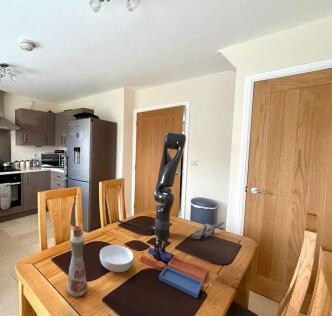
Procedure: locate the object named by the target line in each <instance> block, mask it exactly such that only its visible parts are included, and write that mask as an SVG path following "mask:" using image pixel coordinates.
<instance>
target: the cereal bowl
mask: <svg viewBox="0 0 332 316" xmlns="http://www.w3.org/2000/svg"><path fill="white" fill-rule="evenodd" d="M134 257H135V256H134V253H133V252H132V250H130V249H129V248H127V247H125V246H123V245H117V244H110V245H105V246H104V247H102V248H101V249H100V250H99V261H100V263H101V265H102V267H104V268H105V269H106V270H107V271H110V272H112V273H124V272H126V271H128V270H129V269H130V268H131V267H132V266H133V263H134Z"/></svg>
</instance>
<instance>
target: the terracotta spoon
mask: <svg viewBox="0 0 332 316" xmlns="http://www.w3.org/2000/svg"><path fill="white" fill-rule="evenodd" d="M140 262H142V263H144V264H147V265H149V266H151V267H153V268H154V269H155V270H157V271H158V272H162V271H163V270H164V268H165V267H166V264H165V263H164V262H163V261H162V260H161V261H160V260H156V259H154V258H152V257H150V256H147V255H145V254H141V255H140Z"/></svg>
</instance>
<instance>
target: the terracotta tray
mask: <svg viewBox="0 0 332 316" xmlns="http://www.w3.org/2000/svg"><path fill="white" fill-rule="evenodd" d="M167 267H169V268H171V269H173V270H176V271H178V272H180V273H183V274H185V275H187V276H190V277H192V278H194V279H197V280H199V281H201V282H202V283H204V282H205V280H206V277H207V275H208V270H209V269H208V268H206V267H204V266H201V265H198V264H196V263H193V262H190V261H188V260H185V259H183V258H180V257H178V256H175V255H173V257H172V259H171V260H170V262H167Z"/></svg>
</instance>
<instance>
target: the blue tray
mask: <svg viewBox="0 0 332 316" xmlns="http://www.w3.org/2000/svg"><path fill="white" fill-rule="evenodd" d="M158 281H161V282H163V283H165V284H167V285H168V286H171V287H172V288H175V289H176V290H179V291H180V292H183V293H184V294H187V295H189V296H192V297H194V298H195V299H198V298H199V295H200V293H201V290H202V287H203V282H201V281H199V280H197V279H194V278H192V277H190V276H187V275H185V274H183V273H180V272H178V271H176V270H173V269H171V268H169V267H168V266H165V268H164V270H163V271H160V274H159V275H158Z"/></svg>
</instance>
